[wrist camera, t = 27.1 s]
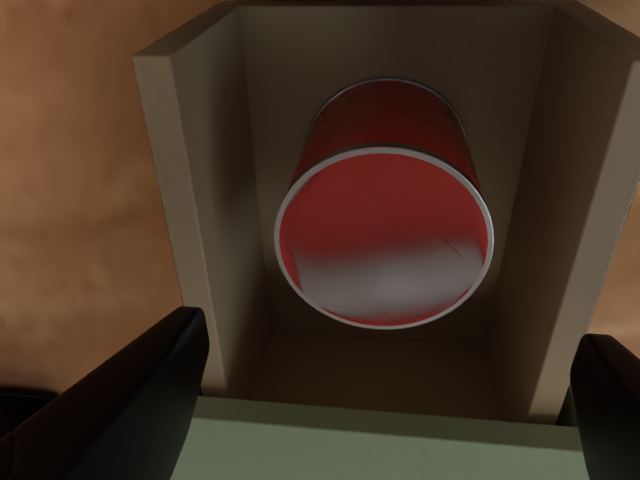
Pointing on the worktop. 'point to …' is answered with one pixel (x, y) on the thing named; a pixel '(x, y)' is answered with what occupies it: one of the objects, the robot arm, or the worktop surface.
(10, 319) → the worktop surface
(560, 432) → the cabinet
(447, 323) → the drawer
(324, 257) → the can
